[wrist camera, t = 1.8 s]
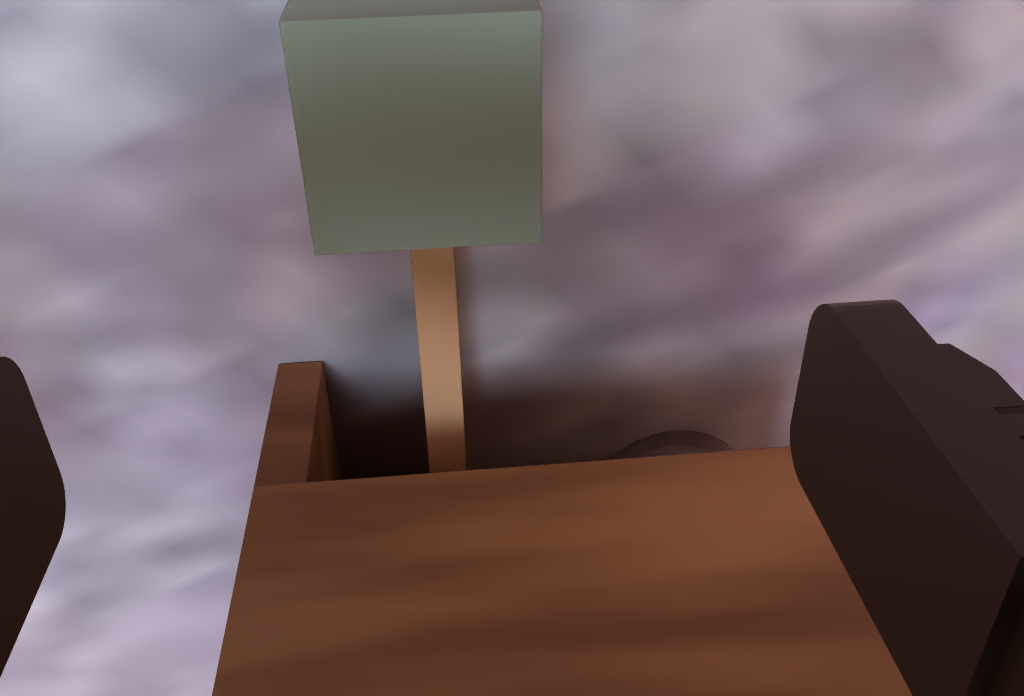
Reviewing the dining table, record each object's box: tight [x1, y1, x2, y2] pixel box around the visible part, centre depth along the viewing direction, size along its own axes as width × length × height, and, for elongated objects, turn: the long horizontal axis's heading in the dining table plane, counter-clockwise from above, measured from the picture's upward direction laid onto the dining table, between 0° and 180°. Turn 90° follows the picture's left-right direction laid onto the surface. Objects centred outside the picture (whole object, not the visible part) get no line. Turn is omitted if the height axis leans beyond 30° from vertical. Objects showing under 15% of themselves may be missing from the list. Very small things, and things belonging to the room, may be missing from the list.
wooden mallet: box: [279, 0, 542, 473], centre depth 23 cm, size 22×4×7 cm, turn 1°
